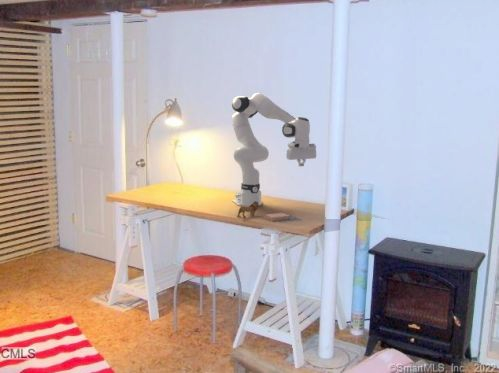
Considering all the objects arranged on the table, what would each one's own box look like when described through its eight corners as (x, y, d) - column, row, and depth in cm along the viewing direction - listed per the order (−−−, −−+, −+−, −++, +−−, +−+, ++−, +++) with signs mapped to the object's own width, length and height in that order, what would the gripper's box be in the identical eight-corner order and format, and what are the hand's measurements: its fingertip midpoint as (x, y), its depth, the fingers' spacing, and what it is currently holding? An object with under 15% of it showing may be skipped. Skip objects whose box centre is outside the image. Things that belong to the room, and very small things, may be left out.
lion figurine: (256, 214, 336) (256, 200, 334) (260, 216, 331) (260, 201, 330) (234, 216, 329) (235, 202, 327) (238, 218, 324) (239, 203, 323)
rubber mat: (264, 216, 330) (264, 216, 330) (286, 214, 337) (286, 213, 337) (279, 223, 314) (279, 222, 314) (302, 220, 322) (302, 219, 322)
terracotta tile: (282, 216, 330) (265, 218, 324) (282, 212, 330) (265, 214, 324) (289, 219, 323) (271, 221, 318) (289, 215, 323) (272, 217, 317)
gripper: (313, 142, 344) (312, 164, 347) (285, 144, 334) (284, 166, 337) (318, 143, 339) (317, 166, 341) (291, 145, 329) (290, 167, 332)
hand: (301, 166), depth 339 cm, fingers closed
